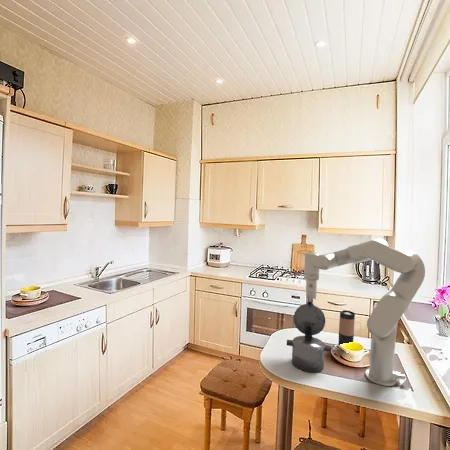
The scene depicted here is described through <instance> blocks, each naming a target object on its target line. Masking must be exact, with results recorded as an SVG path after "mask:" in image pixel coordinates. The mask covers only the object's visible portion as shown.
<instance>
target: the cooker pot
mask: <svg viewBox="0 0 450 450" xmlns="http://www.w3.org/2000/svg"><path fill="white" fill-rule="evenodd" d="M286 346H290V347H292V349H291V350H292V353H291V365H292V366H293V368H295V369H296V370H298V371H300V372H303V373H306V374H307V373H308V374H317V373H321V372H322V371H324V366H325V365H324V364H325V352H329V353H331V352H332V347H331V345H326V344H325V342H324V341H322V340H321V339H319V338H317V337H314V336H312V337H310V336H305V335H298V336H295V337H293V339H286Z"/></svg>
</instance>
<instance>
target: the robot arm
mask: <svg viewBox="0 0 450 450" xmlns="http://www.w3.org/2000/svg"><path fill="white" fill-rule="evenodd" d="M368 261H373V262H376V263H377V264H379V265H382V266H383V267H385V268H387V269H390V270H392V271H393V272H396V273H400V274H399V276H398V277H397V279H396V281H395V282H394V284H393V286H392V287H391V289H390V290H388V292H387V293H385V294H384V295H383V296H382V297H381V298H380V299H379V301H378V302H377V304H376V306H375V307H374V309H373V311H372V312H371V313H370V315H369V316H368V319H367V322H366V327H367V330H368V332H369V333H370V334H371V338H370V339H371V340H370V341H371V342H370V353H369V368H368V369H366V370H365V374H364V375H365V377H366V378H367V379H368V380H369V381H371V382H372V383H374V384H377V385H379V386H382V387H392V386H395V385H396V384H397V380H398V379H399V380H403V381H405V380H406V374H401V372H400V371H395V370H394V365H395V350H396V340H397V330H398V322H399V320H400V319H401V318H402V316H403V315H404V314H405V312H406V311H407V309H408V308H409V306H410V303H411V302H412V300H413V299H414V297H415V296H416V294H417V293H418V291H419V289H420V288H421V286H422V284H423V282H424V280H425V276H426V267H425V263H424V262H423V260H422V258H421V257H420V256H419V254H418V253H416V252H415V251H412V250H408V249H405V250H398V249H396V248H393V247H391V246H390V244H389V242H387V240H385V239H382V238H375V239H371V240H367V241H364V242H361V243H357V244H354V245H351V246H348V247H347V248H343V249H341V250H337V251H336V250H335V251H334V252H329V253H325V254H319V252H311V251H310V252H306V253H305V254H304V267H303V268H304V269H303V271H304V272H303V279H304V280H305V296H306V299H307V302H306V304H313V305H314V300H316V299H317V289H318V288H317V287H318V286H317V285H318V282H317V281H319V279H320V270H322V271H325V270H326V271H327V270H330V269H333V268H337V267H340V266H344V265H347V264H348V265H349V264H354V265H356V264H360V263H364V262H368Z"/></svg>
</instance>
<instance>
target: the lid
mask: <svg viewBox="0 0 450 450" xmlns="http://www.w3.org/2000/svg"><path fill="white" fill-rule="evenodd" d="M293 323H294V325H295V328H296V329H297V330H298V331H299V332H300V333H301V334H303V335H304V336H310V337H313V336H316V335H318V334H320V333H321V332H322V331H323V330H324V328H325V325H326V317H325V313H324V311H323V310H322V309H321V308H320V307H319V306H318V305H316V304H314V303H313V304H307V303H304V304H301V305H300V306H298V307H297V308H296V310H295V311H294V313H293Z"/></svg>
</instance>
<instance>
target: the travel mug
mask: <svg viewBox="0 0 450 450" xmlns="http://www.w3.org/2000/svg"><path fill="white" fill-rule="evenodd" d="M355 320H356V313H355V312H353V311H351V310H345V309H343V310H342V311H340V312H339V324H338V325H339V327H338V343H337V345H340V344H343V343H349V342H353V343H354V336H355Z"/></svg>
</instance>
